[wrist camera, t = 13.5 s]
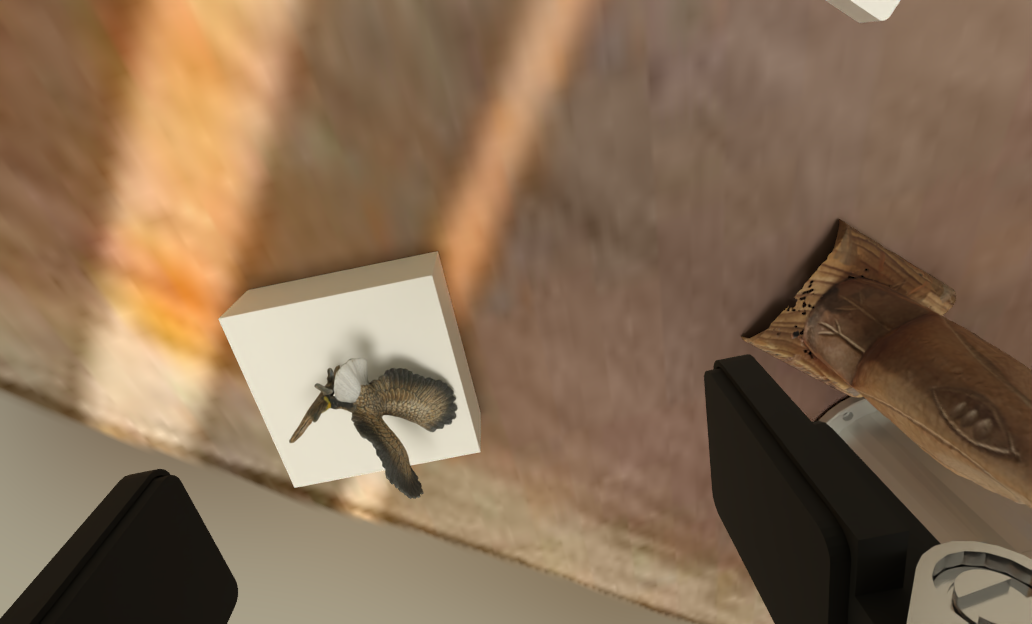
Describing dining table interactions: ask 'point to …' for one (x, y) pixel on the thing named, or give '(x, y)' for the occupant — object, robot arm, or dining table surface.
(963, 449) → the bird sculpture
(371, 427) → the eagle figurine
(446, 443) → the stand
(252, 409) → the dining table surface
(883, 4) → the holder
